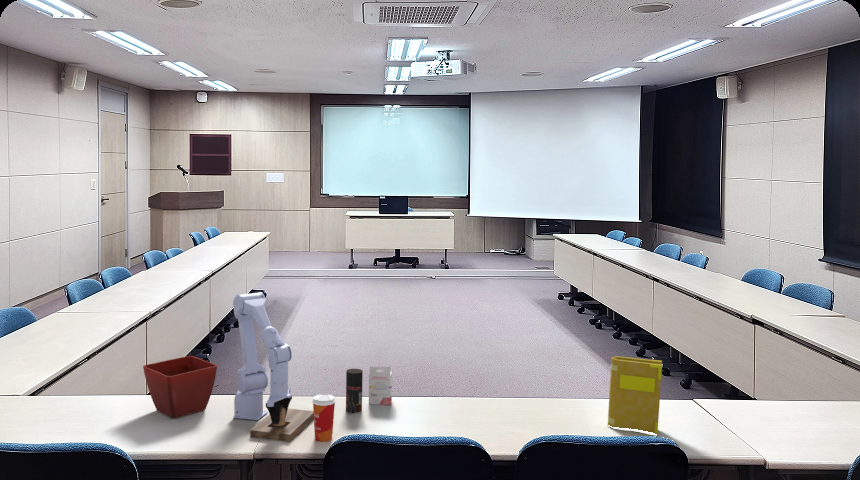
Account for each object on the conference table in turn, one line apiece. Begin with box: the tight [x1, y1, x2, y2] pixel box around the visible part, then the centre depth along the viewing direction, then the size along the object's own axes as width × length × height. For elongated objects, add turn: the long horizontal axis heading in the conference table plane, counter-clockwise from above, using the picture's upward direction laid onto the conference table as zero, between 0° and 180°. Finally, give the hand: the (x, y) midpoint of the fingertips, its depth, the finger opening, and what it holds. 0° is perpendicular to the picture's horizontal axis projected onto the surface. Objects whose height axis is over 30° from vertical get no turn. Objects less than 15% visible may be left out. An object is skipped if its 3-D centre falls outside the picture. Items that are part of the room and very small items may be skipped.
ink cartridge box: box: [368, 365, 393, 406], centre depth 257 cm, size 9×5×15 cm, turn 87°
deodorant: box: [345, 368, 364, 414], centre depth 248 cm, size 6×6×15 cm
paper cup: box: [311, 394, 337, 443], centre depth 221 cm, size 8×8×14 cm
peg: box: [273, 407, 285, 429], centre depth 226 cm, size 4×4×8 cm
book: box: [607, 355, 663, 434], centre depth 237 cm, size 17×7×25 cm, turn 71°
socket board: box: [249, 408, 314, 443], centre depth 230 cm, size 14×22×2 cm, turn 169°
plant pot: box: [142, 355, 218, 419], centre depth 243 cm, size 19×19×17 cm
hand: (279, 420), depth 226 cm, fingers open, 5 cm apart
